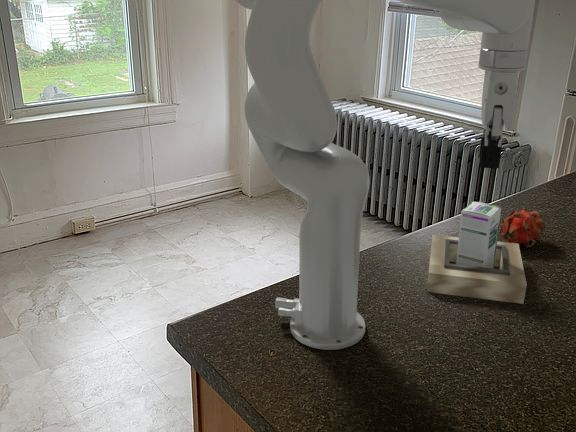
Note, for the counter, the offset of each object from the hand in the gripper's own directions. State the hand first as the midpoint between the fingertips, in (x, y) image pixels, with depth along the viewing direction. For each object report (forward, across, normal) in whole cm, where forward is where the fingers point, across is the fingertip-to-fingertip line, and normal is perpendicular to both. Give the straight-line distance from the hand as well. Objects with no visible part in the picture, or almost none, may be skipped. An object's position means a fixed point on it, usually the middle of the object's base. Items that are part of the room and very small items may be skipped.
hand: (488, 161), depth 107 cm
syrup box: (+24, 0, 0) cm, 24 cm away
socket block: (+23, 0, 0) cm, 23 cm away
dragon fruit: (+24, +17, -10) cm, 31 cm away
